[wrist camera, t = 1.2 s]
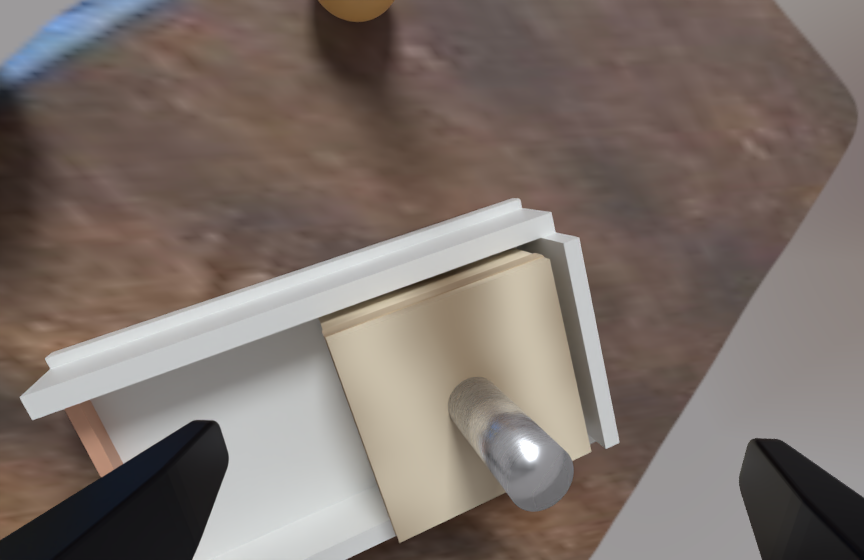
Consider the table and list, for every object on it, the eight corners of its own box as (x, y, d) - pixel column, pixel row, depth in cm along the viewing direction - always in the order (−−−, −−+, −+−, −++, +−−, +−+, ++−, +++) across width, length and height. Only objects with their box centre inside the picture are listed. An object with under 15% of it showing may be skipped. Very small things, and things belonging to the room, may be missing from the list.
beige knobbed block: (376, 481, 28) (441, 663, 18) (314, 309, 25) (348, 406, 15) (541, 408, 30) (685, 531, 20) (501, 242, 27) (644, 286, 17)
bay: (178, 591, 27) (156, 697, 21) (51, 352, 23) (-14, 409, 17) (563, 416, 32) (624, 467, 26) (513, 197, 28) (572, 204, 23)
